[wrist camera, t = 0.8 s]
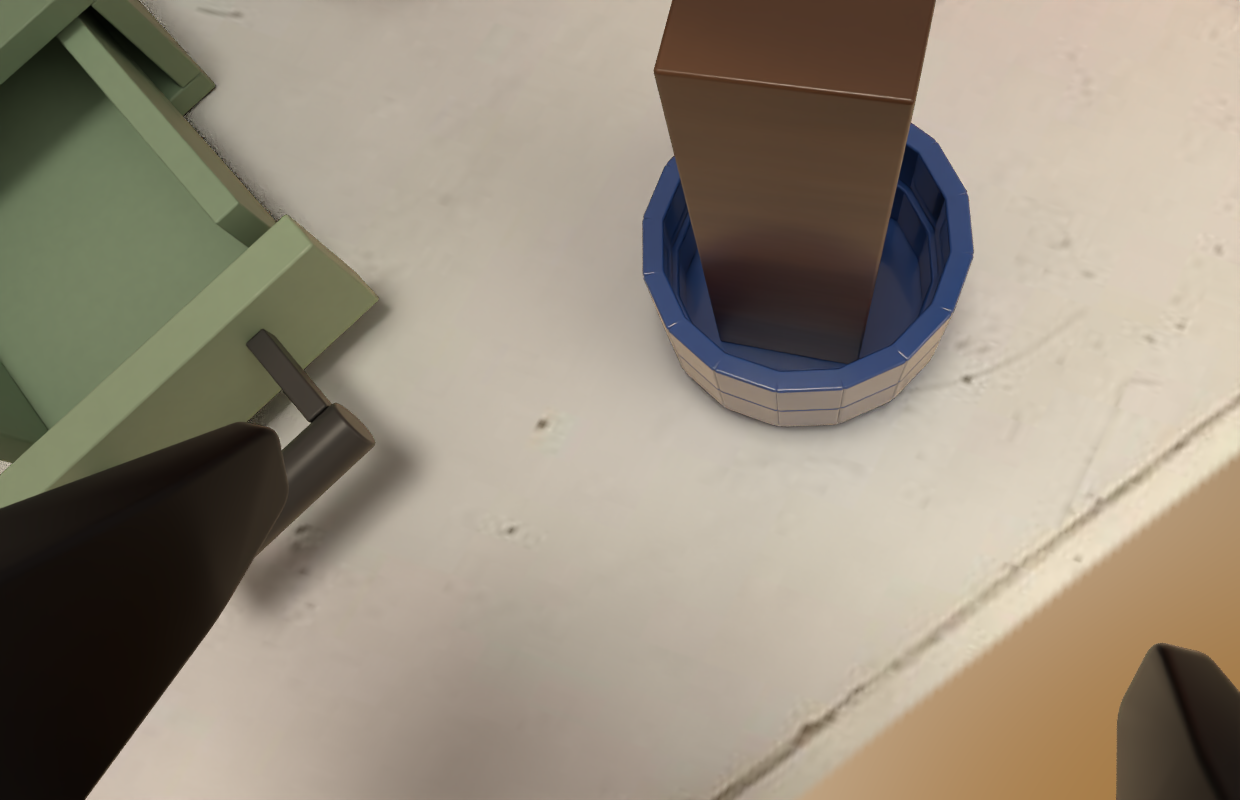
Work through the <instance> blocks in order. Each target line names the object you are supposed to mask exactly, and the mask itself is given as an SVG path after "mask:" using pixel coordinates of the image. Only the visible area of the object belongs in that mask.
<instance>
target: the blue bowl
mask: <svg viewBox="0 0 1240 800" xmlns="http://www.w3.org/2000/svg"><path fill="white" fill-rule="evenodd" d="M643 218H644V219H643V221H642V242H643V276H644V281H645V283H646V286H647V288H648V290H649V293H650V295H651V298H652V300H653V302H654V305H655V307H656V310H657V312H658V315H659V317H660V319H661V322H662V324H663V326H664V329H665V331H666V333H667V335H668V337H669V340H670V342H671V344H672V346H673V348H674V351H675V353H676V355H677V357H678V359H679V362H680V364H681V366H682V368H683V369H684V370H685V372H686V373H687V374H688V375H689V376H690V377H691V378H692V379H693V380H694V381H696V382H697V383H698V384H699V385H700V386H701V387H702V388H703V389H704V390H706V391H707V392H708V393H709V394H710V395H711V396H712V397H713V398H714V399H716V400H717V401H718V402H719V403H720V404H721V405H722V406H725V407H726V408H727V409H729V410H732V411H735V412H738V413H741V414H744V415H746V416H749V417H752V418H755V419H758V420H760V421H763V422H766V423H769V424H772V425H774V426H782V427H786V426H813V425H835V424H837V423H843V422H845V421H847V420H849V419H852V418H854V417H856V416H858V415H861V414H863V413H865V412H867V411H870V410H872V409H874V408H877V407H879V406H881V405H883V404H886V403H888V402H890V400H892V399H894V398H895V397H896V396H897V395H898V394H899V393H900V392H901V391H902V390H903V389H904V388H905V387H906V386H907V384H908V383H909V382H910V381H911V380H912V379H913V378H914V377H915V376H916V375H917V374H918V373H919V372H920V371H921V370H922V369H923V368H924V367H925V366H926V365H927V363H928V362H929V361H930V360H931V358H932V356H933V355H934V353H935V350H936V348H937V346H938V344H939V342H940V340H941V338H942V335H943V334H944V332H945V330H946V327H947V325H948V323H949V321H950V319H951V317H952V315H953V313H954V310H955V307H956V304H957V302H958V299H959V296H960V293H961V290H962V288H963V285H964V282H965V279H966V276H967V274H968V271H969V268H970V265H971V262H972V260H973V253H974V247H973V237H972V227H971V217H970V207H969V197H968V195H967V191H966V189H965V188H964V186H963V184H962V182H961V181H960V179H959V177H958V176H957V174H956V172H955V171H954V169H953V167H952V166H951V164H950V162H949V161H948V159H947V157H946V156H945V154H944V152H943V151H942V149H941V147H940V146H939V144H938V143H937V142H936V141H935V139H933V138H932V137H930V136H929V135H928V134H926V133H925V132H924V131H922V130H921V129H919V128H918V127H917V126H915V125H914V124H912V123H911V124H910V128H909V133H908V138H907V142H906V147H905V151H904V156H903V160H902V165H901V169H900V174H899V178H898V183H897V188H896V192H895V197H894V201H893V206H892V210H891V215H890V219H889V224H888V228H887V233H886V238H885V242H884V247H883V251H882V256H881V260H880V265H879V269H878V274H877V278H876V283H875V288H874V292H873V297H872V301H871V306H870V310H869V315H868V319H867V324H866V328H865V333H864V338H863V342H862V347H861V351H860V356H859V359H858V360H855V361H853V362H851V363H849V364H845V363H839V362H834V361H828V360H823V359H817V358H812V357H807V356H801V355H796V354H790V353H785V352H779V351H774V350H769V349H763V348H758V347H752V346H747V345H741V344H736V343H731V342H725V341H721V340H720V337H719V333H718V329H717V325H716V321H715V317H714V313H713V309H712V305H711V301H710V297H709V293H708V289H707V285H706V281H705V276H704V272H703V268H702V264H701V260H700V256H699V252H698V248H697V244H696V240H695V236H694V232H693V228H692V224H691V220H690V216H689V212H688V208H687V204H686V200H685V196H684V192H683V188H682V184H681V180H680V176H679V172H678V168H677V164H676V160H675V155H674V156H673V157H672V159H671V160H670V161H669V162H668V163H667V165H666V166H665V167H664V169H663V172H662V174H661V176H660V179H659V181H658V183H657V186H656V188H655V190H654V193H653V195H652V197H651V200H650V202H649V204H648V207H647V209H646V211H645V214H644V216H643Z"/></svg>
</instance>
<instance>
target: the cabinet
mask: <svg viewBox="0 0 1240 800" xmlns="http://www.w3.org/2000/svg"><path fill="white" fill-rule="evenodd" d="M87 8H88V9H89V10H90V12H91V13H92V14H93V15H94V16H95V17H96V18H97V20H98V21H99V22H100V23H101V24H102V25H103V26H104V27H105V29H106V30H107V31H108V32H109V33H110V34H111V35H112V37H113V38H114V39H115V40H116V41H117V42H118V43H119V44H120V46H121V47H122V48H123V49H124V50H125V51H126V52H127V54H128V55H129V56H130V57H131V58H132V59H133V60H134V61H135V63H136V64H137V65H138V66H139V67H140V68H141V69H142V71H143V72H144V73H145V74H146V75H147V76H148V77H149V78H150V80H151V81H152V82H153V83H154V84H155V85H156V86H157V88H158V89H159V90H160V91H161V92H162V93H163V94H164V95H165V97H166V98H167V99H168V100H169V101H170V102H171V103H172V105H173V106H174V107H175V108H176V109H177V110H178V111H179V112H180V114H181V115H182V116H183V115H184V114H185V113H187V112H188V111H189V110H190V109H191V108H192V107H193V106H194V105H195V104H197V103H198V102H199V101H200V100H201V99H202V98H203V97H204V96H205V95H207V94H208V93H209V92H210V91H211V90H212V89H213V88H214V87H215V84H214V82H213V81H212V80H211V79H210V78H209V77H208V76H207V75H206V74H205V73H204V71H203V70H202V69H201V68H200V67H199V66H198V65H197V64H196V63H195V62H194V61H193V59H192V58H191V57H190V56H189V55H188V54H187V53H186V52H185V51H184V50H183V49H182V47H181V46H180V45H179V44H178V43H177V42H176V41H175V40H174V39H173V38H172V36H171V35H170V34H169V33H168V32H167V31H166V30H165V29H164V28H163V27H162V26H161V24H160V23H159V22H158V21H157V20H156V19H155V18H154V17H153V16H152V15H151V14H150V12H149V11H148V10H147V9H146V8H145V7H144V6H143V5H142V4H141V3H140V2H139V0H0V85H1V84H2V83H3V82H5V81H6V80H7V79H8V78H9V77H10V76H11V75H12V74H14V73H15V72H16V71H17V70H18V69H19V68H20V67H21V66H23V65H24V64H25V63H26V62H27V61H28V60H29V59H30V58H32V57H33V56H34V55H35V54H36V53H37V52H38V51H39V50H40V49H42V48H43V47H44V46H45V45H46V44H47V43H48V42H49V41H51V40H52V39H53V38H54V37H55V36H56V35H57V34H58V33H60V32H61V31H62V30H63V29H64V28H65V27H66V26H67V25H69V24H70V23H71V22H72V21H73V20H74V19H75V18H76V17H78V16H79V15H80V14H81V13H82V12H83V11H84V10H85V9H87Z"/></svg>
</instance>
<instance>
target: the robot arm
mask: <svg viewBox="0 0 1240 800" xmlns="http://www.w3.org/2000/svg"><path fill="white" fill-rule="evenodd" d="M288 490H289V485H288V479H287V474H286V469H285V464H284V459H283V454H282V450H281V445H280V440H279V437H278V435H277V434H276V432H275V431H274V430H272V429H271V428H269V427H265V426H261V425H257V424H253V423H249V422H235V423H232V424H229V425H226V426H224V427H221V428H218V429H215V430H213V431H210V432H207V433H204V434H202V435H199V436H196V437H194V438H191V439H188V440H185V441H183V442H180V443H177V444H174V445H172V446H169V447H166V448H164V449H161V450H158V451H155V452H153V453H150V454H147V455H144V456H142V457H139V458H136V459H134V460H131V461H128V462H125V463H123V464H120V465H117V466H114V467H112V468H109V469H106V470H103V471H101V472H98V473H95V474H93V475H90V476H87V477H84V478H82V479H79V480H76V481H73V482H71V483H68V484H65V485H63V486H60V487H57V488H54V489H52V490H49V491H46V492H43V493H41V494H38V495H35V496H33V497H30V498H27V499H24V500H22V501H19V502H16V503H13V504H11V505H8V506H5V507H3V508H0V800H85V799H86V798H87V796H88V795H89V794H90V792H91V791H92V790H93V788H94V787H95V785H96V784H97V783H98V781H99V780H100V779H101V777H102V776H103V775H104V773H105V772H106V771H107V769H108V768H109V766H110V765H111V764H112V762H113V761H114V760H115V758H116V757H117V756H118V754H119V753H120V751H121V750H122V749H123V747H124V746H125V745H126V743H127V742H128V741H129V739H130V738H131V737H132V735H133V734H134V732H135V731H136V730H137V728H138V727H139V726H140V724H141V723H142V722H143V720H144V719H145V718H146V716H147V715H148V713H149V712H150V711H151V709H152V708H153V707H154V705H155V704H156V703H157V701H158V700H159V699H160V697H161V696H162V694H163V693H164V692H165V690H166V689H167V688H168V686H169V685H170V684H171V682H172V681H173V679H174V678H175V677H176V675H177V674H178V673H179V671H180V670H181V669H182V667H183V666H184V665H185V663H186V662H187V660H188V659H189V658H190V656H191V655H192V654H193V652H194V651H195V650H196V648H197V647H198V646H199V644H200V643H201V641H202V640H203V639H204V637H205V636H206V635H207V633H208V632H209V630H210V629H211V627H212V626H213V625H214V623H215V622H216V620H217V619H218V617H219V616H220V614H221V613H222V611H223V609H224V608H225V606H226V605H227V603H228V602H229V600H230V598H231V597H232V595H233V593H234V592H235V590H236V588H237V586H238V585H239V583H240V581H241V580H242V578H243V576H244V575H245V573H246V571H247V569H248V568H249V566H250V564H251V563H252V561H253V559H254V558H255V556H256V554H257V552H258V551H259V549H260V547H261V546H262V544H263V542H264V541H265V539H266V537H267V535H268V534H269V532H270V530H271V529H272V527H273V525H274V524H275V522H276V520H277V518H278V517H279V515H280V513H281V512H282V510H283V508H284V506H285V503H286V501H287V497H288ZM1116 800H1240V692H1239V691H1238V689H1237V688H1236V687H1235V686H1234V685H1233V684H1232V682H1231V681H1230V680H1229V679H1228V678H1227V676H1226V675H1225V674H1224V673H1223V672H1222V670H1221V669H1220V668H1219V667H1218V666H1217V665H1216V663H1215V662H1214V661H1213V660H1212V659H1211V658H1209V656H1207V655H1206V654H1204V653H1201V652H1199V651H1195V650H1191V649H1187V648H1182V647H1178V646H1174V645H1170V644H1166V643H1158V644H1155V645H1153V646H1152V647H1151V648H1150V649H1149V650H1148V652H1147V654H1146V655H1145V657H1144V659H1143V661H1142V663H1141V665H1140V667H1139V669H1138V671H1137V673H1136V675H1135V677H1134V678H1133V680H1132V682H1131V684H1130V686H1129V688H1128V690H1127V692H1126V693H1125V695H1124V697H1123V699H1122V702H1121V705H1120V708H1119V713H1118V720H1117V794H1116Z"/></svg>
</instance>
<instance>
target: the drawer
mask: <svg viewBox="0 0 1240 800" xmlns="http://www.w3.org/2000/svg"><path fill="white" fill-rule="evenodd" d="M378 300H379V299H378V296H377V295H376V294H375V293H374V292H373V291H372V290H371V289H370V288H369V286H368V285H367V284H366V283H365V282H364V281H363V280H362V279H361V278H360V276H359V275H358V274H357V273H356V272H355V271H354V270H352V269H351V268H350V267H349V266H348V265H347V264H345V263H344V262H343V261H342V260H341V259H339V258H338V257H337V256H336V255H335V254H334V253H332V252H331V251H330V250H329V249H328V248H326V247H325V246H324V245H323V244H322V243H321V242H319V241H318V240H317V239H316V238H315V237H313V236H312V235H311V234H310V233H309V232H308V231H306V230H305V229H304V228H303V227H302V226H300V225H299V224H298V223H297V222H296V221H295V220H293V219H292V218H291V217H290V216H288V215H284V216H283V217H282V218H281V219H280V220H279V221H277V222H276V221H275V220H274V219H273V218H272V217H271V216H270V215H269V213H268V212H267V211H266V210H265V209H264V208H263V207H262V205H261V204H260V203H259V202H258V201H257V200H256V199H255V198H254V196H253V195H252V194H251V193H250V192H249V191H248V190H247V188H246V187H245V186H244V185H243V184H242V183H241V182H240V181H239V179H238V178H237V177H236V176H235V175H234V174H233V173H232V171H231V170H230V169H229V168H228V167H227V166H226V165H225V163H224V162H223V161H222V160H221V159H220V158H219V157H218V156H217V154H216V153H215V152H214V151H213V150H212V149H211V148H210V146H209V145H208V144H207V143H206V142H205V141H204V140H203V139H202V137H201V136H200V135H199V134H198V133H197V132H196V131H195V129H194V128H193V127H192V126H191V125H190V124H189V123H188V122H187V120H186V119H185V118H184V117H183V116H182V115H181V114H180V112H179V111H178V110H177V109H176V108H175V107H174V106H173V105H172V103H171V102H170V101H169V100H168V99H167V98H166V97H165V95H164V94H163V93H162V92H161V91H160V90H159V89H158V88H157V86H156V85H155V84H154V83H153V82H152V81H151V80H150V78H149V77H148V76H147V75H146V74H145V73H144V72H143V71H142V69H141V68H140V67H139V66H138V65H137V64H136V63H135V61H134V60H133V59H132V58H131V57H130V56H129V55H128V54H127V52H126V51H125V50H124V49H123V48H122V47H121V46H120V44H119V43H118V42H117V41H116V40H115V39H114V38H113V37H112V35H111V34H110V33H109V32H108V31H107V30H106V29H105V27H104V26H103V25H102V24H101V23H100V22H99V21H98V20H97V18H96V17H95V16H94V15H93V14H92V13H91V12H90V10H89V9H88V8H87V9H85V10H84V11H83V12H82V13H81V14H80V15H79V16H78V17H76V18H75V19H74V20H73V21H72V22H71V23H70V24H69V25H67V26H66V27H65V28H64V29H63V30H62V31H61V32H60V33H58V34H57V35H56V36H55V37H54V38H53V39H52V40H51V41H49V42H48V43H47V44H46V45H45V46H44V47H43V48H42V49H40V50H39V51H38V52H37V53H36V54H35V55H34V56H33V57H32V58H30V59H29V60H28V61H27V62H26V63H25V64H24V65H23V66H21V67H20V68H19V69H18V70H17V71H16V72H15V73H14V74H12V75H11V76H10V77H9V78H8V79H7V80H6V81H5V82H3V83H2V84H1V85H0V460H2V461H6V462H10V463H12V464H11V465H10V466H9V467H8V468H7V469H6V470H5V471H4V472H3V473H1V474H0V508H3V507H5V506H8V505H11V504H13V503H16V502H19V501H22V500H24V499H27V498H30V497H33V496H35V495H38V494H41V493H43V492H46V491H49V490H52V489H54V488H57V487H60V486H63V485H65V484H68V483H71V482H73V481H76V480H79V479H82V478H84V477H87V476H90V475H93V474H95V473H98V472H101V471H103V470H106V469H109V468H112V467H114V466H117V465H120V464H123V463H125V462H128V461H131V460H134V459H136V458H139V457H142V456H144V455H147V454H150V453H153V452H155V451H158V450H161V449H164V448H166V447H169V446H172V445H174V444H177V443H180V442H183V441H185V440H188V439H191V438H194V437H196V436H199V435H202V434H204V433H207V432H210V431H213V430H215V429H218V428H221V427H224V426H226V425H229V424H232V423H235V422H247V421H248V420H249V419H250V418H251V417H253V416H254V415H255V414H256V413H257V412H258V411H259V410H260V409H261V408H262V407H263V406H264V405H266V404H267V403H268V402H269V401H270V400H271V399H272V398H273V397H274V396H275V395H276V394H277V393H279V392H280V391H281V390H283V391H284V393H285V394H286V395H287V396H288V397H289V399H290V400H291V401H292V402H293V404H294V405H295V406H296V407H297V409H298V410H299V411H300V412H301V413H302V415H303V416H304V417H305V418H306V420H307V421H308V422H311V424H310V425H309V426H308V427H306V428H305V429H304V430H303V431H302V432H301V433H300V434H299V435H298V436H297V437H296V438H295V439H294V440H292V441H291V442H290V443H289V444H288V445H287V446H286V447H285V448H284V449H283V450H282V454H283V459H284V464H285V469H286V474H287V479H288V485H289V490H288V497H287V501H286V503H285V506H284V508H283V510H282V512H281V513H280V515H279V517H278V518H277V520H276V522H275V524H274V525H273V527H272V529H271V530H270V532H269V534H268V535H267V537H266V539H265V541H264V542H263V544H262V546H261V547H260V549H259V551H258V552H257V554H256V556H257V555H258V554H259V553H260V552H261V551H262V550H263V549H264V548H265V547H266V546H267V545H269V544H270V543H271V542H272V541H273V540H274V539H275V538H276V537H277V536H278V535H279V534H280V533H281V532H282V531H284V530H285V529H286V528H287V527H288V526H289V525H290V524H291V523H292V522H293V521H294V520H295V519H296V518H297V517H299V516H300V515H301V514H302V513H303V512H304V511H305V510H306V509H307V508H308V507H309V506H310V505H311V504H313V503H314V502H315V501H316V500H317V499H318V498H319V497H320V496H321V495H322V494H323V493H324V492H325V491H326V490H328V489H329V488H330V487H331V486H332V485H333V484H334V483H335V482H336V481H337V480H338V479H339V478H340V477H341V476H343V475H344V474H345V473H346V472H347V471H348V470H349V469H350V468H351V467H352V466H353V465H354V464H355V463H357V462H358V461H359V460H360V459H361V458H362V457H363V456H364V455H365V454H366V453H367V452H368V451H369V450H370V449H372V448H373V447H374V445H375V440H374V438H373V436H372V434H371V433H370V432H369V430H368V429H367V428H366V427H365V426H364V424H363V423H362V422H361V421H360V420H359V419H358V418H357V417H356V416H355V415H353V414H352V413H351V412H350V411H349V410H348V409H346V408H345V407H343V406H342V405H340V404H338V403H333V404H331V402H330V401H329V400H328V399H327V398H326V396H325V395H324V394H323V393H322V392H321V390H320V389H319V388H318V387H317V386H316V384H315V383H314V382H313V381H312V380H311V378H310V377H309V376H308V375H307V374H306V372H305V371H304V370H303V369H305V368H306V367H307V366H308V365H309V364H310V363H311V362H312V361H313V360H314V359H315V358H316V357H318V356H319V355H320V354H321V353H322V352H323V351H324V350H325V349H326V348H327V347H328V346H329V345H331V344H332V343H333V342H334V341H335V340H336V339H337V338H338V337H339V336H340V335H341V334H342V333H344V332H345V331H346V330H347V329H348V328H349V327H350V326H351V325H352V324H353V323H354V322H355V321H357V320H358V319H359V318H360V317H361V316H362V315H363V314H364V313H365V312H366V311H367V310H368V309H370V308H371V307H372V306H373V305H374V304H375V303H376V302H377V301H378ZM256 556H255V557H256Z"/></svg>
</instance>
